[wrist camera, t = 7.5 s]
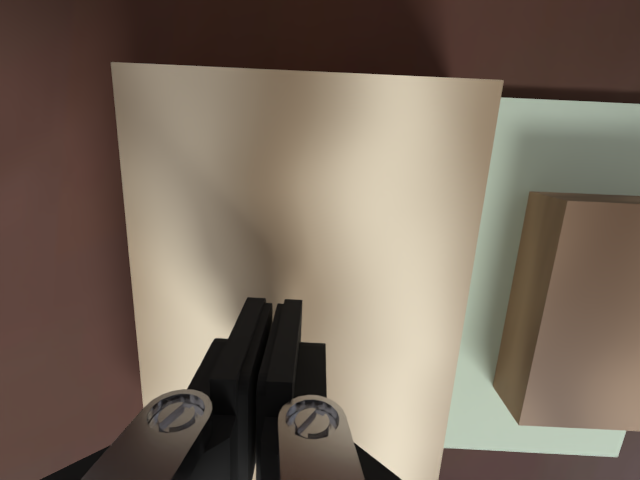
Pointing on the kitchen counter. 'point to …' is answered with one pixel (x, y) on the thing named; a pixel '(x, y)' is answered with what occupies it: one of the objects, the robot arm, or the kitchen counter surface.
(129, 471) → the robot arm
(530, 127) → the mat
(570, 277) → the brown box
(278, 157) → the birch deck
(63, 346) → the kitchen counter surface
